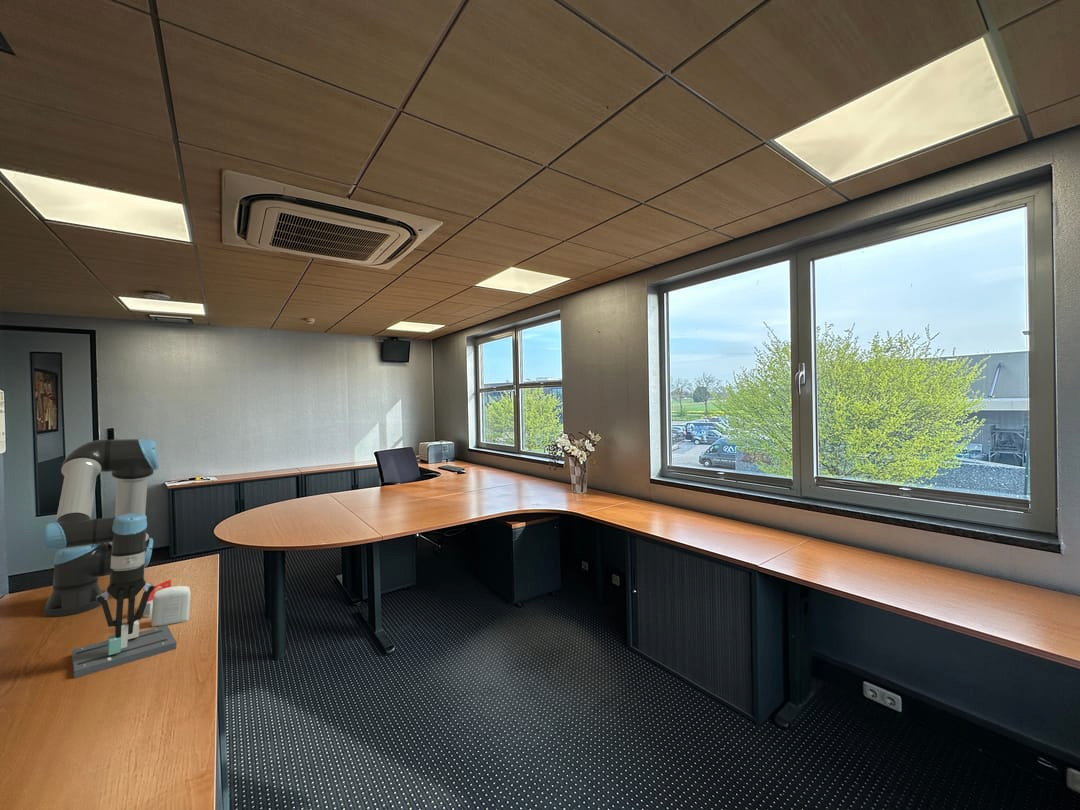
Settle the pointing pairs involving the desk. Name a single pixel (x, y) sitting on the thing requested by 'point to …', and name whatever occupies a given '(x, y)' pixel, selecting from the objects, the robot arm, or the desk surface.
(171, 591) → the photo printer
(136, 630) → the ivory fader
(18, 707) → the desk surface
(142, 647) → the console
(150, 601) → the ink cartridge box
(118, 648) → the teal fader
